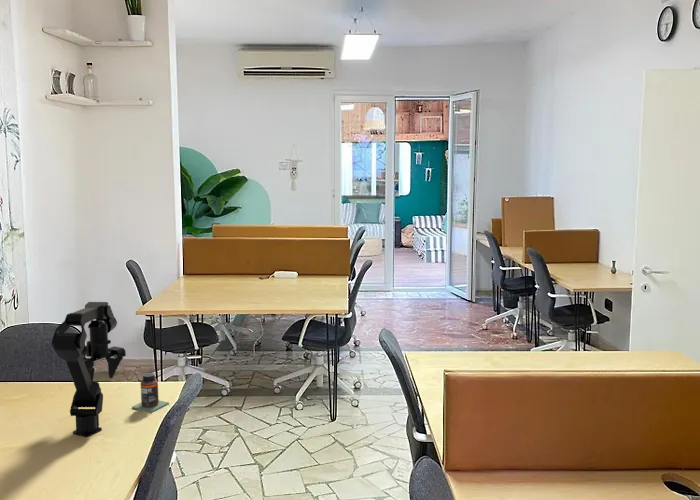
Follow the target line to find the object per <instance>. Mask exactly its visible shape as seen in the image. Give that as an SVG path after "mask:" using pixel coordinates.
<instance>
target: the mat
mask: <svg viewBox="0 0 700 500" xmlns="http://www.w3.org/2000/svg"><path fill="white" fill-rule="evenodd" d="M167 404H168V405H169V404H170V402H169V401H164V400H160V399H159V403H158V404H157V405H156V406H153V407H144V406H142V403H141V402H139V403H136V404H134V405H133V406H131V409H132V410H133V409H134V410H139V411H143V412H147V413H151V414H152V413H154V412H156V411H158V410H161V408H164V407H166V406H168V405H167ZM165 405H166V406H165ZM163 406H164V407H163Z"/></svg>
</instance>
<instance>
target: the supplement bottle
mask: <svg viewBox="0 0 700 500" xmlns="http://www.w3.org/2000/svg"><path fill="white" fill-rule="evenodd" d="M159 400H160V399H159V382H158V379H157V378H155V373H153V372H146V373H144V374H142V380H141V381H140V401H141V402H140V403H142V406H144V407H153V406H156V405H157V404H158V403H159Z"/></svg>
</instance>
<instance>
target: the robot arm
mask: <svg viewBox="0 0 700 500" xmlns="http://www.w3.org/2000/svg"><path fill="white" fill-rule="evenodd" d="M89 322H90V323H89ZM87 323H89V324H88V325H87V326H88V327H87V328H88V329H89V340H88V341H87V342H86V340H87V337H88V335H87V331H86V329H85V325H86V324H87ZM117 325H118V321H117V319H116V317H115V316H114V313H113V310H112V308H111V305H109V302H107V301H88V302H87V303H86V304H85V305H84V307H83V308H82V309H79V310H76V311H74V312H69V313H67V314H66V316H65V318H64V320H63V321H62V323H60V325H58V326H57V327H56V328H55V331H54V333H53V336H52V339H51V347H52V349H53V351H54V353H55V355H56V356H57V357H58V358H60V359H63V360H64V361H65V363H66V366H67V369H68V371H69V374H70V377H71V380H72V382H73V384H74V387H75V392H74V395H73V398H72V400H71V401H72V402H71V404H70V409H69V415H70V417H75V430H73V431H72V434H74V435H79V436H83V437H85V438H86V437H90V436H91V435H94V434H96V433H98V432H100V431H103V428H102V427H100V421H99V420H100V419H99V418H100V416H99V415H100V413H102V412H103V403H104V394H103V393H102V388H101V387H100V383H99V382H98V381H94V376H95V368H94V366H95V363H97V362H101V361H103V360H106V362H107V367H108V368H107V369H108V377H109V378H108V379H113V377H114V376H115V373H116V372H117V369H118V367H119V365H120V363H121V362H122V360H123V359H124V357H126V355H127V354H126V349H125V348H124V347H120V346H115V345H114V346H111V347H109V345H110V344H111V343H112V342H111V341H112V340H111V339H109V336H108V335H109V333H110V332H112V331H113V330H114V329H115V328H116V327H117ZM71 327H81V332H80V333H79V332H67V331H68V330H69V329H70V328H71ZM85 343H86V345H85ZM83 356H85V357H83ZM88 357H89V358H88Z"/></svg>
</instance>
